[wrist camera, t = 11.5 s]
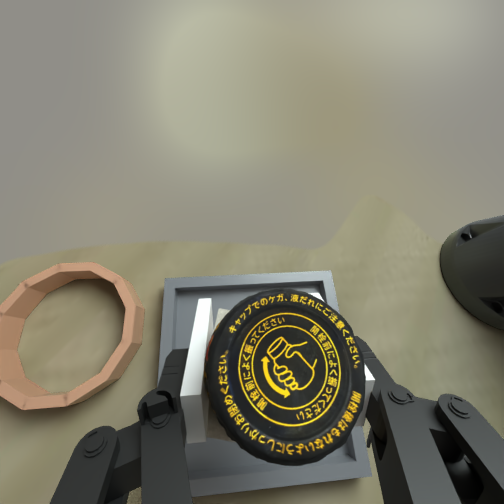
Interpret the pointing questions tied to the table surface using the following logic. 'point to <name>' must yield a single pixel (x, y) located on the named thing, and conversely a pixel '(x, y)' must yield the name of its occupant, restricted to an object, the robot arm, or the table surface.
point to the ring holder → (23, 303)
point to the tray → (229, 453)
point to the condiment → (283, 377)
